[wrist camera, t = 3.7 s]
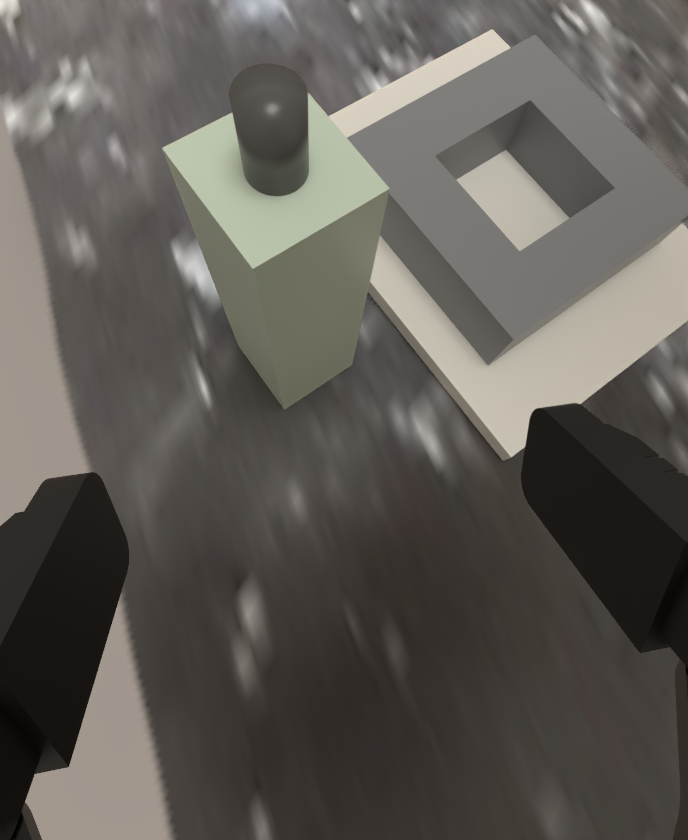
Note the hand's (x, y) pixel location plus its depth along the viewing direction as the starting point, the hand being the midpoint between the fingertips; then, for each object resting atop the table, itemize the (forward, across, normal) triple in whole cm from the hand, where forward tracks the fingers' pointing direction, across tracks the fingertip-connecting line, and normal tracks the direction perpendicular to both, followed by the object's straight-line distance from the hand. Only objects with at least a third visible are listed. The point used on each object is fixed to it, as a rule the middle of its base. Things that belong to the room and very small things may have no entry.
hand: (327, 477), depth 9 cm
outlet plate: (+19, -12, -1) cm, 22 cm away
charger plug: (+15, 0, +4) cm, 15 cm away
